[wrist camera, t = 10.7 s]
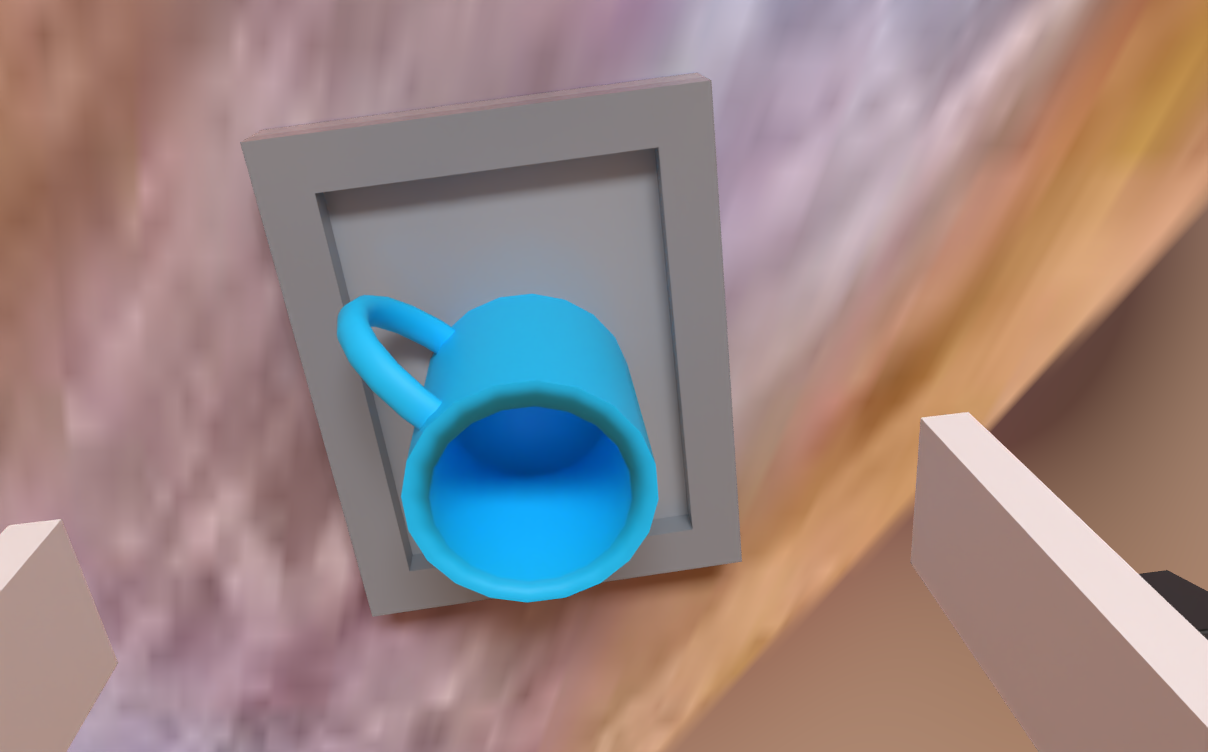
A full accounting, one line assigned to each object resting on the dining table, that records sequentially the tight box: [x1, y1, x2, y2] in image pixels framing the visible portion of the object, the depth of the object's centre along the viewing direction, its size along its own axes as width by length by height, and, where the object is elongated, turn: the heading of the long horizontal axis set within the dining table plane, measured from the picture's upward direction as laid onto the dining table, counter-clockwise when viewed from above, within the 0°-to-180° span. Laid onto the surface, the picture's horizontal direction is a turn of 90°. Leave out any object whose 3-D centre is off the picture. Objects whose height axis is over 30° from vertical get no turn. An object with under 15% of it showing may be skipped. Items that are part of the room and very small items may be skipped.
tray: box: [240, 73, 742, 617], centre depth 36 cm, size 16×20×3 cm
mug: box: [337, 294, 659, 602], centre depth 32 cm, size 12×8×8 cm
